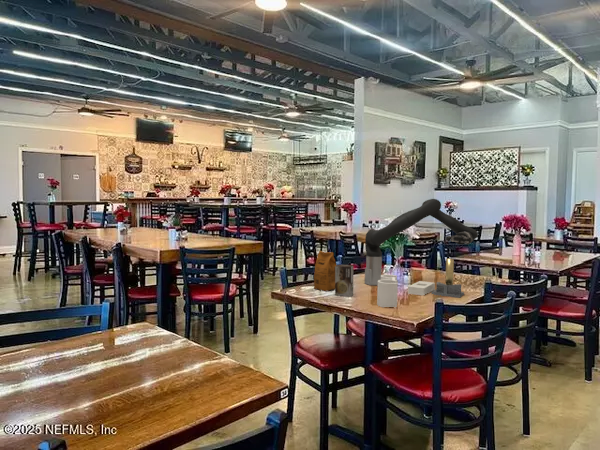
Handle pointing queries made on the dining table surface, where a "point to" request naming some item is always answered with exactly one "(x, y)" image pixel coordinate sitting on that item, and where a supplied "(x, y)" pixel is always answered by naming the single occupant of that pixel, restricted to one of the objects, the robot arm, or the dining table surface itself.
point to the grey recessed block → (421, 288)
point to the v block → (448, 290)
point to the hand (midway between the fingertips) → (455, 239)
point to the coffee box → (344, 280)
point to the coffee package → (325, 271)
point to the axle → (449, 271)
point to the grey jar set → (387, 291)
